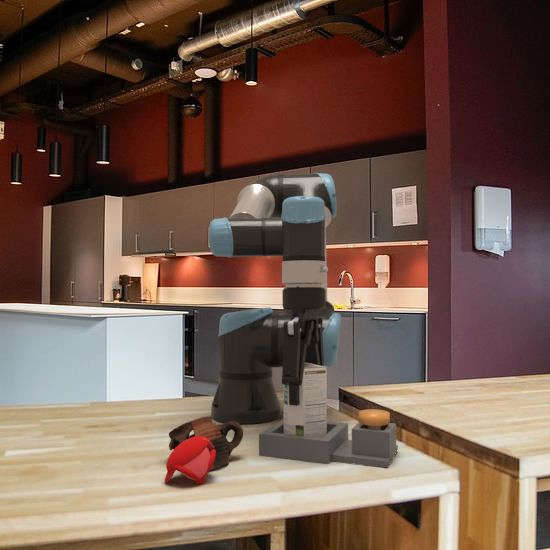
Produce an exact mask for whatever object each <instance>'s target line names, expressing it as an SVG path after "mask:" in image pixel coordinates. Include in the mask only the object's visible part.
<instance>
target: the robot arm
mask: <svg viewBox="0 0 550 550" xmlns="http://www.w3.org/2000/svg"><path fill="white" fill-rule="evenodd" d="M336 193H337V192H336V187H335V181H334V179H333V177H332V175H331V174H329V173H318V172H313V173H286V174H285V173H281V174H280V173H274V174H268V175H265V176H261V177H259V178H257V179H255V180H252V181H251V182H249V183H247V184H246V185H245V186H244V187H243V188H242V189H241V190H240V192H239V193H238V196H237V200H236V206H235V208H234V210H233V211H232V213H231V215H230V216H229V217H222V218H221V217H220V218H214V219H212V220H211V221H210V223H209V229H208V244H209V249H210V250H209V251H210V253H211V254H212V255H213V256H215V257H220V258H221V257H222V258H223V257H227V258H228V259H230V258H245V257H246V258H247V257H248V258H252V257H255V258H256V257H282V262H281V269H282V270H281V284H282V285H285V287H284V288H283V289H282V290H281V291H282V313H274V310H273V309H272V307H262V308H252V309H245V310H239V311H233V312H227V313H225V314H222V315H221V316H220V320H219V326H218V327H219V329H218V334H217V337H218V361H219V362H218V364H219V365H218V371H219V373H218V374H219V375H218V384H217V388H216V391H215V394H214V397H213V400H212V403H211V407H210V410H211V412H210V417H211V419H212V420H215V421H217V422H221V423H222V422H223V423H226V422H228V421H236V422H238V423H239V424H240V425H241V424H245V425H246V424H247V425H248V424H258V423H267V422H271V421H274V420H277V419H279V418H280V417H281V414H282V413H281V411H282V410H281V409H282V408H281V403H280V399H279V397H278V393H277V390H276V388H275V387H276V386H275V384H274V380H273V368H282V371H281V372H282V373H281V384H282V385H283V386H284V385H288V424H292V425H302V426H304V425H305V385H302V380H303V372H304V365H305V363H312V364H316V365H320V366H325V367H326V368H330V367H331V368H332V367H333V366H334V365H335V364H336V363H337V361H338V353H339V344H340V336H341V325H342V315H341V314H340V313H337V312H335V307H334V305H333V303H331V302H330V301H329V300H328V273H327V272H328V271H329V268H328V265H327V264H328V263H327V227H328V226H329V225H330V224H331V222H332V219H333V218H336V216H337V213H338V203H337V197H336V196H337V195H336ZM292 375H293V376H292Z"/></svg>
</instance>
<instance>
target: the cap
mask: <svg viewBox="0 0 550 550" xmlns="http://www.w3.org/2000/svg"><path fill="white" fill-rule="evenodd" d="M215 456H216V451H215V449H214V446H213V444H212V443H211V442H210V440H209V439H208V438H207V437H204V436H195V437H192V438H189V439H187V440H185V441H183V442H182V443H181V444H179V445H178V446H177V447H176V448H175V449H172V450H171V453H170V454H169V456H168V458H167V461H166V471H167V472H166V475H165V477H164V484H167V483H168V482H169V481H170V480H171V478H172V477H173V476H174V474H175V472H176V471H177V472H179V473H181V474H183V475H184V476H186V478H188V479H190V480H192V481H193V480H194V481H195V483H196V484H197V485H200V484H204V483H205V482H206V480H205V479H206V477H207V475H208V474H209V472H210V471H211V470H212V469H211V467H212V465H213V462H214V460H215ZM210 469H211V470H210Z"/></svg>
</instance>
